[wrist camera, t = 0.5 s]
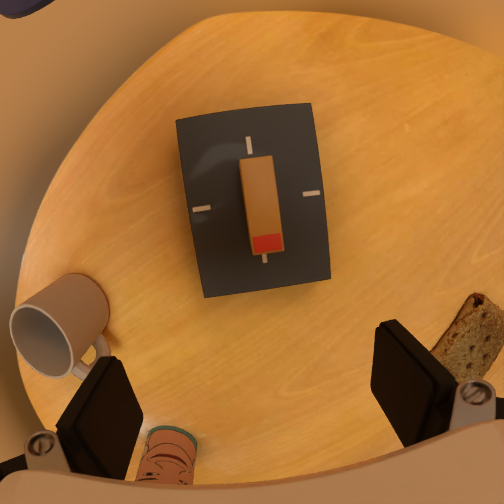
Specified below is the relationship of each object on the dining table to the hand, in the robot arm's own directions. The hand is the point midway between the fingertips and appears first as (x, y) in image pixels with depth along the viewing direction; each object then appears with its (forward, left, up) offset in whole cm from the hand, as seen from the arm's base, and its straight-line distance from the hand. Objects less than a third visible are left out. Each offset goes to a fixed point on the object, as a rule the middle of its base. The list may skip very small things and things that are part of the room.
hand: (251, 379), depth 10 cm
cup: (+4, -17, -19) cm, 26 cm away
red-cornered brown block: (-5, +2, -15) cm, 16 cm away
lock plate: (-5, +2, -18) cm, 19 cm away
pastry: (+18, +29, -19) cm, 39 cm away
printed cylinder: (+24, -13, -19) cm, 33 cm away
